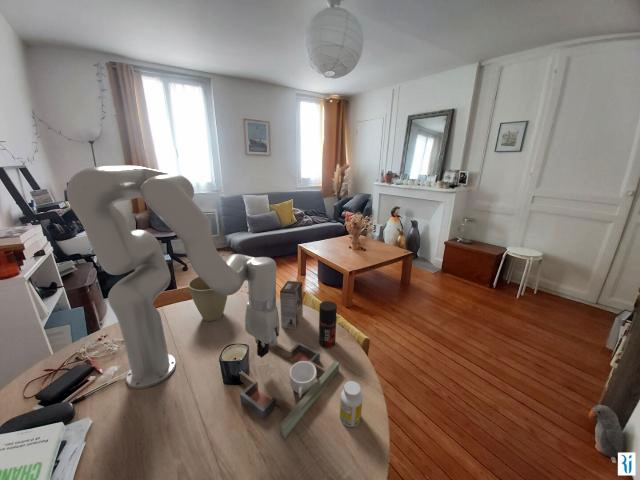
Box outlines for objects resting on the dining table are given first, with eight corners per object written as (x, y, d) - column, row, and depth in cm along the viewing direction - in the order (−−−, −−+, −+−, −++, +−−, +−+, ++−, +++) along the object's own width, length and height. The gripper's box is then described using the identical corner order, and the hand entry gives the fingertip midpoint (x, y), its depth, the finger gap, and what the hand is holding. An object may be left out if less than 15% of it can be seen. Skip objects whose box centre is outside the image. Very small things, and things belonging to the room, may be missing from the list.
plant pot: (203, 332, 95) (197, 294, 91) (187, 316, 105) (182, 281, 100) (239, 316, 106) (236, 281, 101) (222, 302, 115) (218, 270, 111)
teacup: (292, 374, 77) (292, 360, 76) (317, 376, 77) (317, 362, 75) (285, 404, 68) (284, 388, 66) (314, 407, 67) (314, 391, 65)
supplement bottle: (341, 428, 62) (343, 398, 59) (337, 408, 67) (339, 379, 64) (363, 426, 62) (365, 396, 59) (358, 406, 67) (360, 377, 64)
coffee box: (288, 314, 107) (287, 279, 102) (303, 316, 106) (302, 281, 101) (280, 327, 99) (279, 290, 94) (296, 330, 97) (296, 292, 93)
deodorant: (321, 349, 88) (322, 311, 83) (316, 338, 93) (317, 302, 89) (337, 346, 89) (339, 309, 85) (332, 335, 95) (333, 300, 90)
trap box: (217, 384, 73) (216, 375, 72) (277, 338, 93) (277, 331, 92) (285, 438, 59) (284, 428, 58) (338, 370, 79) (339, 362, 78)
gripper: (234, 296, 73) (237, 349, 78) (272, 316, 65) (271, 373, 70) (254, 287, 79) (255, 337, 84) (291, 304, 71) (289, 358, 76)
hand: (263, 353), depth 77 cm, fingers closed
